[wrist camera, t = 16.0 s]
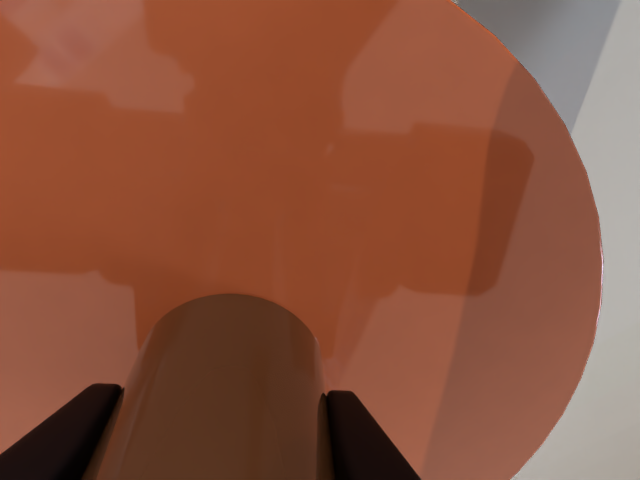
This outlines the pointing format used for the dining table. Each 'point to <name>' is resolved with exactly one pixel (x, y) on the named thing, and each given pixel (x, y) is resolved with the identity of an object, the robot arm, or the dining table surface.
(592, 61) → the dining table surface
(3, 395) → the lid
